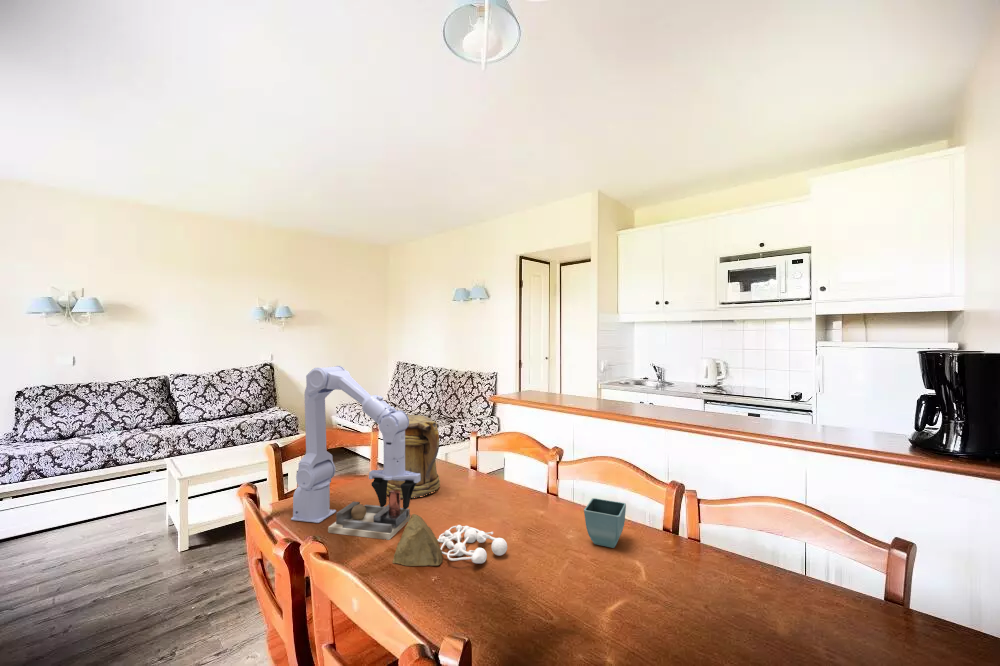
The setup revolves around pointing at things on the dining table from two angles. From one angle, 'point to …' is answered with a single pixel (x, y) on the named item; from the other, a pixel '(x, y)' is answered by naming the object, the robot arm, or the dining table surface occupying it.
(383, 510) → the sliding jaw
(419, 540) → the rock
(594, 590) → the dining table surface
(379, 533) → the base
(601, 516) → the flower pot
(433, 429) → the tankard
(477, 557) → the white knotted ball cord
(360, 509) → the walnut
